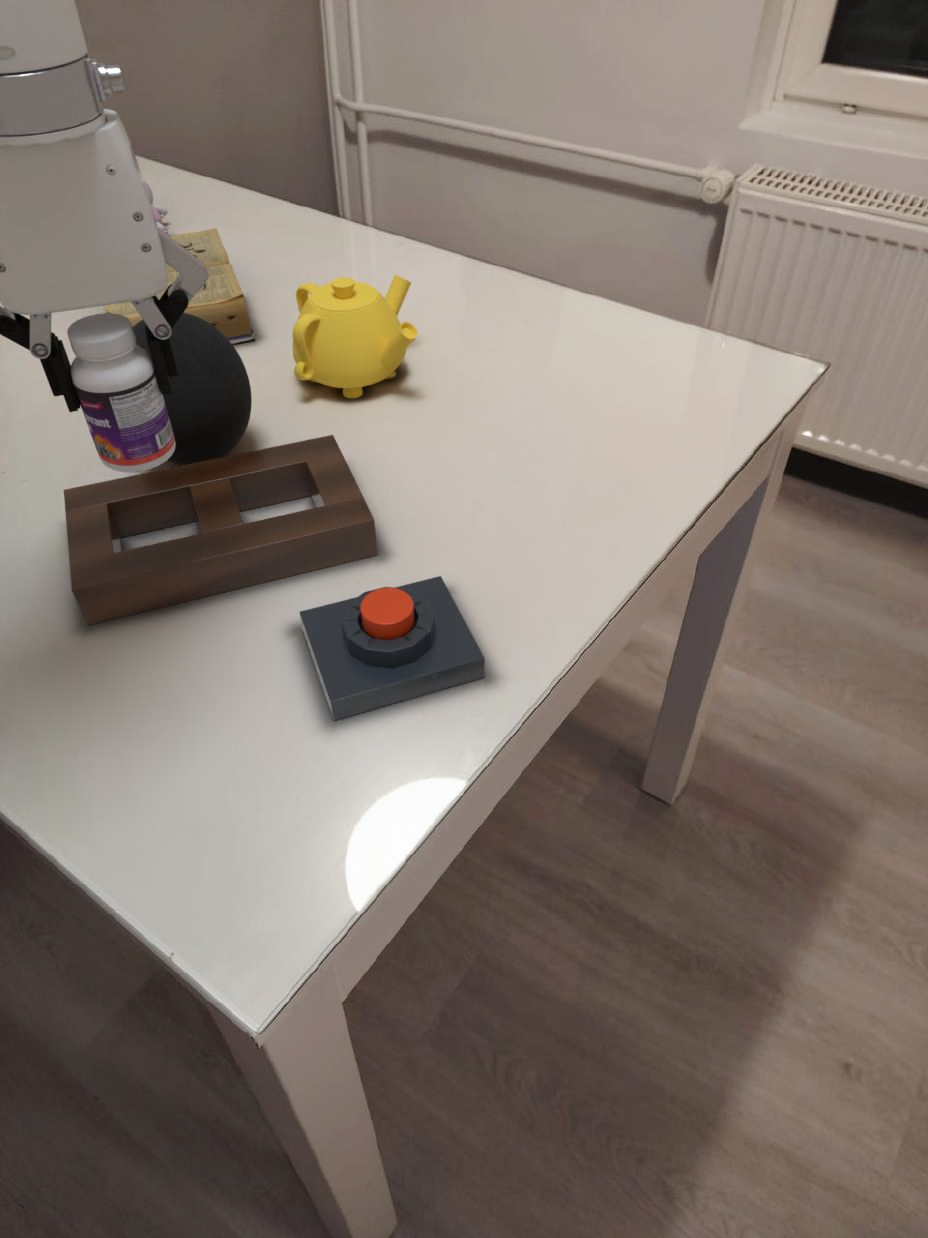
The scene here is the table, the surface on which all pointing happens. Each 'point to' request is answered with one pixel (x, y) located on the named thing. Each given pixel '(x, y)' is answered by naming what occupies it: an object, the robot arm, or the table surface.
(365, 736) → the table surface
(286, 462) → the dock
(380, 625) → the button
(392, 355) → the teapot
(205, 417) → the decorative egg
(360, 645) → the dark grey flat piece
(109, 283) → the robot arm
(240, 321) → the book
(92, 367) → the pill bottle
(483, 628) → the table surface
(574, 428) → the table surface
